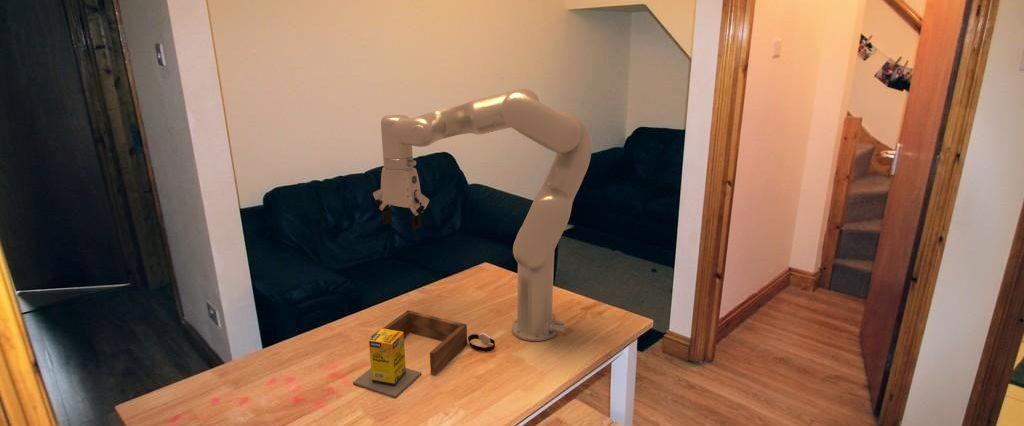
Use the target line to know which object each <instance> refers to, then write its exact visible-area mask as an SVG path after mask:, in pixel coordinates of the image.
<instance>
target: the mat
mask: <svg viewBox="0 0 1024 426" xmlns="http://www.w3.org/2000/svg"><path fill="white" fill-rule="evenodd" d="M421 376H422V372H421V371H418V370H414V369H411V368H407V367H406V373H405V374H404V375H403V376H402V377H401V378H400V380H399V381H398V382H397V383H396V385H395V386H391V385H385V384H380V383H374V382H372V374H371V367H370V368H369V369H368V370H367V371H365V372H364V373H363V374H361V375H360V376H359V377H358V378H356V379H355V380H354V381H352V385H353V386H356V387H360V388H363V389H366V390H369V391H372V392H375V393H379V394H380V395H384V396H387V397H389V398H392V399H397V398H398V397H399V396H400V395H401V394H402V393H403V392H404V391H406V389H408V388H409V387H411V385H412V384H413V383H414V382H415V381H417V380H418V378H420V377H421Z"/></svg>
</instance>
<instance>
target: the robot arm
mask: <svg viewBox="0 0 1024 426" xmlns="http://www.w3.org/2000/svg"><path fill="white" fill-rule="evenodd" d="M380 129H381V130H380V131H381V145H382V160H383V167H382V168H381V175H380V177H381V178H380V189H377V190H376V191H373V193H372V196H373V197H374V199H375V203H376V205H377V206H378V207H379V208H378V209H379V210H380V211H381V218H382V225H387V224H388V225H389V224H390V223H392V222H393V214H392V208H391V206H393V207H394V206H395V207H398V208H399V207H401V208H408V209H409V210H410V211H411V212H412V216H411V221H412V226H411V227H412V230H414V231H415V230H418V229H420V228H421V227H422V223H423V222H422V221H423V220H422V219H423V218H422V213H424V212H425V210H426V209H427V206H428V204H429V202H430V199H429V198H428V197H426V195H424V194H423V193H422V192H421V185H420V183H421V182H420V179H419V175H418V171H417V168H415V166H416V165H417V161H416V160H414V158H413V157H414V156H413V155H414V154H413V147H417V148H418V147H419V148H424V147H428V146H431V145H432V144H434V143H435V142H438V141H440V140H444V139H448V138H451V137H456V136H460V135H467V134H473V135H478V136H479V135H485V134H489V133H493V132H497V131H501V130H506V129H513V130H514V131H516V132H518V133H519V134H521V135H522V136H524V137H526V138H528V139H529V140H532V141H533V142H535V143H537V144H538V145H540V146H542V147H544V148H545V149H547V150H549V151H551V152H554V153H556V155H555V157H554V160H553V162H552V164H551V166H550V169H549V171H548V174H547V176H546V178H545V180H544V182H543V183H542V185H541V187H540V189H539V190H538V192H537V193H536V195H535V197H534V198H533V201H532V204H531V206H530V208H529V209H528V210H529V211H528V213H527V215H526V217H525V219H524V221H523V223H522V224H521V225H522V226H521V227H520V229H519V231H518V232H517V234H516V236H515V237H516V238H515V240H514V242H513V246H512V254H513V258H514V259H515V261H516V263H517V298H516V299H517V305H516V306H517V307H516V308H517V309H516V310H517V314H516V315H517V317H516V318H517V319H515V320H514V321H513V322H512V324H511V332H512V333H513V335H514V336H516V337H517V338H519V339H520V340H523V341H524V340H525V341H529V342H540V341H541V342H543V341H546V340H547V341H548V340H550V339H552V338H553V337H555V336H556V335H557V334H558V333H561V334H566V331H567V326H566V325H565V324H566V322H564V321H560V320H559V321H558V319H556V314H555V313H553V299H554V297H553V295H554V290H553V289H554V269H555V266H554V265H555V250H556V247H557V245H558V243H559V241H560V239H561V237H562V235H563V233H564V231H565V229H566V227H567V224H568V222H569V220H570V216H571V213H572V206H573V203H574V200H575V198H576V195H577V194H578V191H579V189H580V187H581V185H582V183H583V181H584V178H585V175H586V173H587V171H588V168H589V165H590V162H591V158H592V156H591V155H592V140H591V139H592V138H591V136H590V132H589V130H588V129H587V127H586V125H585V123H584V122H583V121H582V119H580V117H579V116H577V115H576V114H575V113H573V112H570V111H560V112H559V111H557V110H554V109H553V108H551V107H549V106H548V105H546V104H544V103H542V102H541V101H540V99H539V97H538V95H537V94H536V93H535V92H534V91H533V90H531V89H527V88H519V89H518V88H517V89H513V90H511V91H506V92H503V93H499V94H495V95H491V96H487V97H483V98H477V99H474V100H471V101H468V102H466V103H463V104H459V105H455V106H451V107H448V108H447V107H446V108H444V109H443V108H442V109H440V110H435V111H431V112H427V113H424V114H422V115H418V116H415V117H409V116H408V115H405V114H389V115H385V116H382V118H381V120H380Z"/></svg>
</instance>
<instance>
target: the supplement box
mask: <svg viewBox="0 0 1024 426" xmlns="http://www.w3.org/2000/svg"><path fill="white" fill-rule="evenodd" d="M379 330H380V331H379ZM379 330H378V331H379V332H378V331H377V332H378V333H377V334H376V335H375V336H374V337H372V338H370V339H369V340H368V346H369V356H370V357H369V358H370V368H371V374H372V382H374V383H380V384H385V385H391V386H395V385H396V383H397V382H398V381H399V380H400V378H401V377H402V376H403V375H404V374H405V373H406V368H407V367H406V352H405V337H404V332H401V331H395V330H389V329H382V328H380V329H379Z"/></svg>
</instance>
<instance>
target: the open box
mask: <svg viewBox="0 0 1024 426" xmlns="http://www.w3.org/2000/svg"><path fill="white" fill-rule="evenodd" d="M467 328H468V326H467V324H465V323H461V322H456V321H454V320H449V319H445V318H441V317H436V316H433V315H429V314H425V313H420V312H417V311H412V310H406V311H405V312H403V313H402V314H400V315H399V316H398V317H396V318H395V319H394V320H392V321H391V322H389V323H387V324H386V325H385V326H383V327H382V328H381V329H389V330H395V331H401V332H404V338H405V337H407V336H408V335H409V334H412V335H417V336H422V337H425V338H428V339H432V340H436V341H440V343H439V344H437V346H435V347H434V348H433V349H432V350H431V351H429V361H430V362H429V365H430V376H431V375H432V376H434V377H436V376H437V375H438V374H439V373H440V372H441V371H442V370H443V369H444V368H445V367H446V366H447V365H448V364H450V362H451V361H452V360H453V359H454V358H456V356H458V355H459V354H460V353H461V352H462V350H463V351H464V349H465V348H466V347H467V346H468V329H467ZM381 329H379V330H378V331H376V332H374V333H373V334H372V335H371V338H372V337H374V336H375V335H376V334H377V333H378V332H379V331H380V330H381ZM371 338H370V339H371Z"/></svg>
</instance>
